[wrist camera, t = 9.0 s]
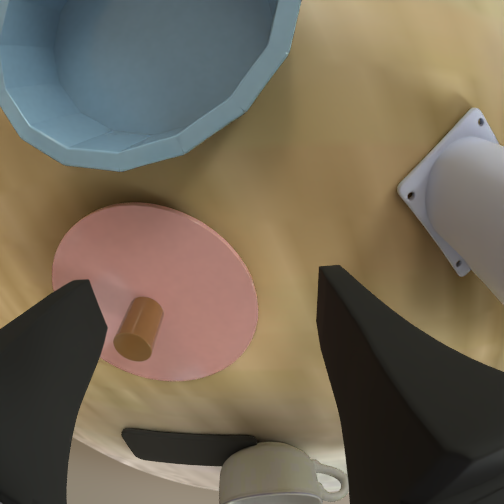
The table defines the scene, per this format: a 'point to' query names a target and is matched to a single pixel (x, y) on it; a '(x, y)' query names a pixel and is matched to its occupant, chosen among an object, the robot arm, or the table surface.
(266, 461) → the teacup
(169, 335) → the pink knobbed disc
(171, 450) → the phone
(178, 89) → the bowl
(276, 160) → the table surface
